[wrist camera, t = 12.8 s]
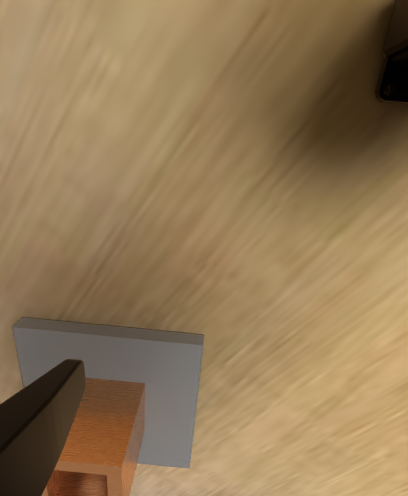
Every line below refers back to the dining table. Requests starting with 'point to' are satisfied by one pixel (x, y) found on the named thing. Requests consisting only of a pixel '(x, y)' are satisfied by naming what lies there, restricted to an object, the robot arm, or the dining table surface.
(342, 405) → the dining table surface
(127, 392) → the hollow wooden cube
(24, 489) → the robot arm
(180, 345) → the stand
